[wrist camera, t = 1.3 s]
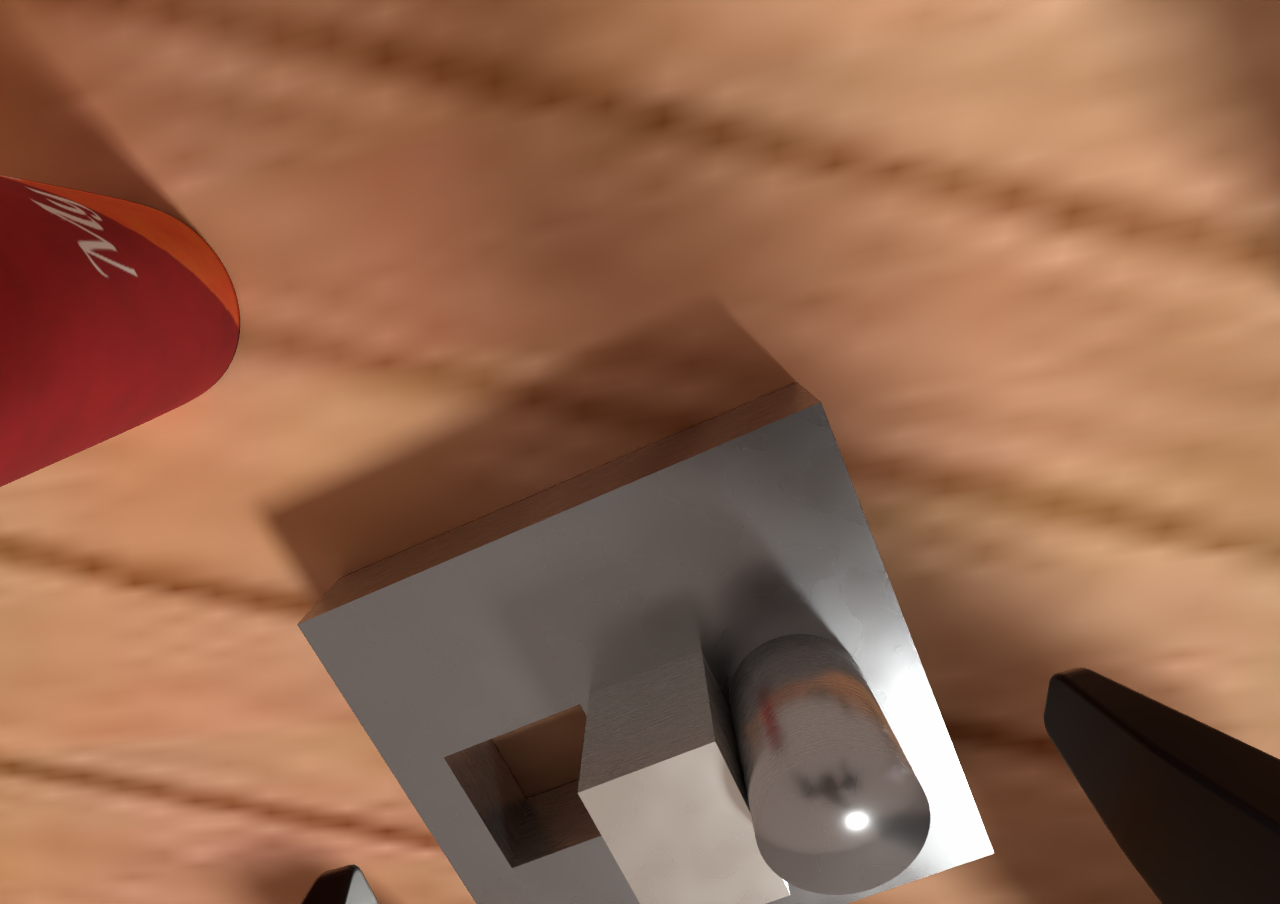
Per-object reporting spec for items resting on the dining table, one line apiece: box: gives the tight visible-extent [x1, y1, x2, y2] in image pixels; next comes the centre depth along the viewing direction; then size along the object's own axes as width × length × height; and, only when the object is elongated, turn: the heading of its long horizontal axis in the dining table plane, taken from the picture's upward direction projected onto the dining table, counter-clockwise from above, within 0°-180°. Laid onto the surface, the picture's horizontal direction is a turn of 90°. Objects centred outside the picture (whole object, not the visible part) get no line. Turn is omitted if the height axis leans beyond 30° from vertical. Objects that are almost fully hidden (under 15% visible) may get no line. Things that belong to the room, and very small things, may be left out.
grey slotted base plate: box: [297, 382, 994, 904], centre depth 21 cm, size 16×16×8 cm
